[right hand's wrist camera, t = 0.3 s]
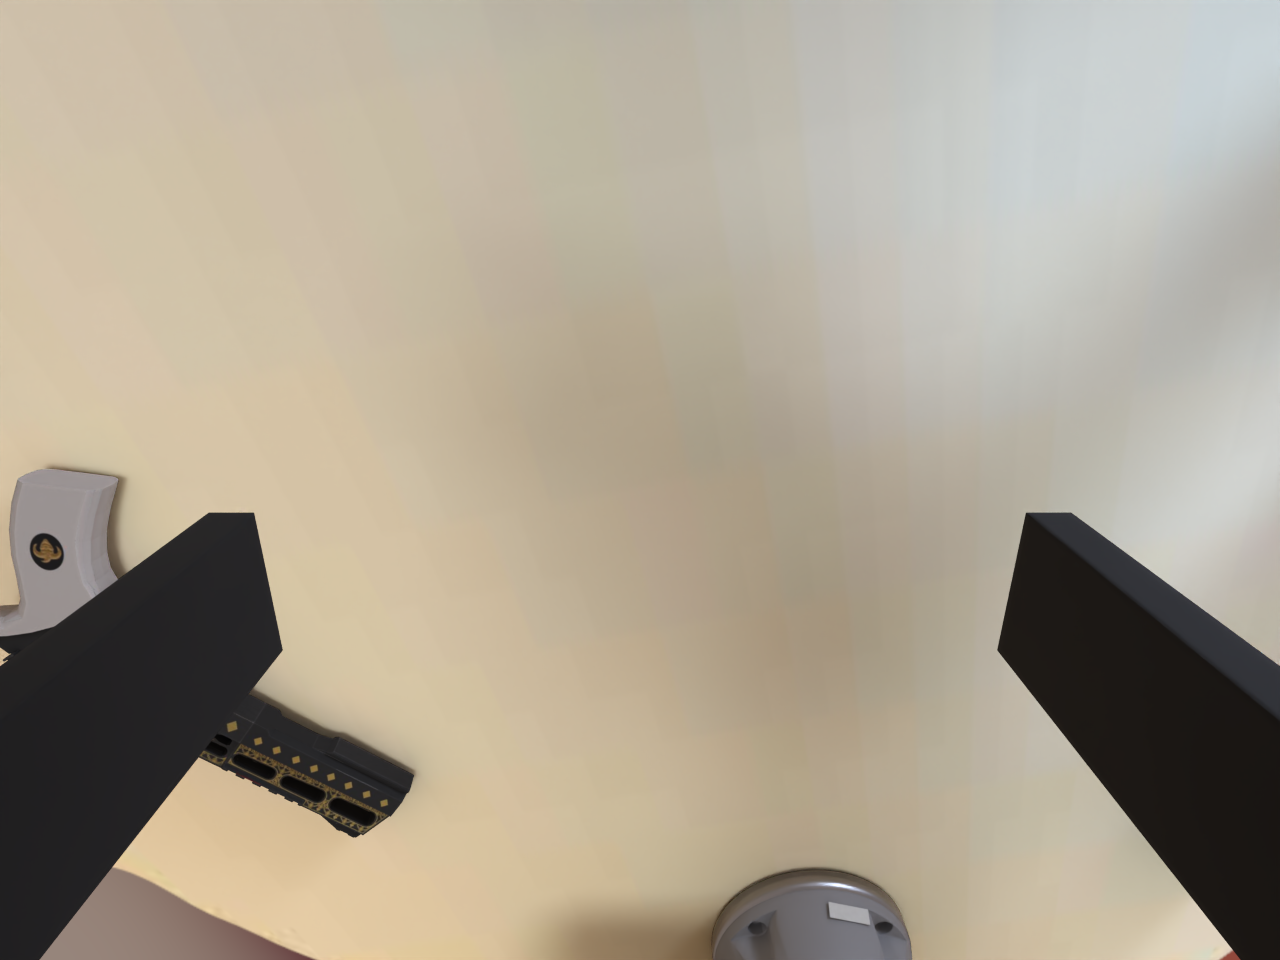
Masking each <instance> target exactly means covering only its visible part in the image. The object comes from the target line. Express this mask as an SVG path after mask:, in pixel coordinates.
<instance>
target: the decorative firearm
mask: <svg viewBox="0 0 1280 960" xmlns="http://www.w3.org/2000/svg"><path fill="white" fill-rule="evenodd" d="M117 484H118V479H117V478H116V477H112V476H105V475H97V474H89V473H81V472H73V471H65V470H57V469H41V470H36V471H33V472H30V473H28V474H25V475H24V476H22V477H20V478H18V480H17V484H16V488H15V491H14V495H13V499H12V503H11V514H10V526H9V534H10V546H11V556H12V560H13V564H14V569H15V573H16V577H17V582H18V588H19V593H20V598H21V599H20V603H19V605H3V606H0V648H2V649H3V650H5V651H6V652H7V653H9V654H10V655H9V656H7V657H6V658H5V659H3V661H6V660H9V659H11V658H12V657H13V656H15V655H16V654H18V653H19V652H20V651H22V650H23V649H24V648H26V647H27V646H28V645H30V644H31V643H32V642H34V641H35V640H37V639H38V638H39V637H41V636H42V635H43V634H45V633H46V632H47V631H49V630H50V629H51V628H53V627H54V626H56V625H57V624H58V623H60V622H61V621H62V620H64V619H65V618H66V617H68V616H69V615H71V614H72V613H73V612H75V611H76V610H77V609H79V608H80V607H81V606H83V605H84V604H85V603H87V602H88V601H90V600H91V599H92V598H94V597H95V596H96V595H98V594H99V593H100V592H102V591H103V590H105V589H106V588H107V587H109V586H110V585H111V584H113V583H114V582H115V581H117V580H118V579H117V577H116V575H115V574H114V572H113V570H112V569H111V567H110V562H109V557H108V553H107V527H108V521H109V515H110V509H111V505H112V501H113V498H114V494H115V491H116V487H117ZM11 653H12V654H11ZM199 758H201V759H203V760H206V761H208V762H210V763H212V764H214V765H216V766H218V767H220V768H222V769H223V770H225V771H228V770H229V771H231V772H234V773H236V776H238V777H240V778H242V779H244V778H246V779H248V780H250V781H253V782H252V783H253V784H255V785H257V786H259V787H260V786H263V787H265V788H267V789H269V790H268V791H269V792H272V793H274V794H277V793H278V794H280V795H282V796H284V797H285V798H284V799H286V800H288V801H291V802H293V801H295V802H297V803H298V805H299V806H303V807H305V808H307V809H309V810H311V811H313V812H315V813H317V814H319V815H321V816H322V817H323V818H325V819H326V820H327V821H328V822H329V823H330V824H331V825H332V826H334V827H335V828H336V830H339V831H340V830H341V831H343V832H345V833H347V834H348V835H349V836H351V837H353V838H354V837H357V836H359V835H360V834H362V835H364V834H365V833H367V832H368V831H369V830H371V829H372V828H374V827H375V826H376V825H378V824H379V823H380V822H382V821H383V820H385V819H386V818H387V817H389V816H390V817H391V815H392V814H393V813H394V812H395V810H396V809H397V808H398V807H399V805H400V804H401V803H402V801H403V799H404V797H405V796H406V794H407V793H408V792H409V791H410V788H411V784H412V781H413V777H414V775H413V774H411V773H409V772H407V771H405V770H403V769H401V768H399V767H397V766H395V765H393V764H391V763H389V762H387V761H385V760H383V759H381V758H379V757H377V756H375V755H373V754H371V753H370V752H368V751H366V750H364V749H362V748H360V747H358V746H356V745H354V744H352V743H350V742H348V741H346V740H344V739H342V738H340V737H335V738H333V739H332V738H329V737H326V736H322V735H319V734H317V733H315V732H313V731H311V730H309V729H307V728H305V727H303V726H301V725H299V724H297V723H295V722H293V721H291V720H289V719H287V718H285V717H284V716H282V714H281V712H280V710H279V709H277V708H275V707H273V706H271V705H269V704H267V703H265V702H263V701H261V700H259V699H257V698H255V697H253V696H251V695H249V694H248V695H247V696H246V697H245V699H244V700H243V701H242V703H241V704H240V705H239V706H238V708H237V709H236V710H235V711H234V713H233V714H232V715H231V717H230V718H229V719H228V720H227V722H226V723H225V724H224V725H223V727H222V728H221V729H220V731H219V732H218V733H217V734H216V736H215V737H214V738H213V739H212V741H211V742H210V743H209V745H208V746H207V747H206V748H205V750H204V751H203V752H202V753H201V755H200V756H199ZM360 807H361V808H360ZM362 808H363V809H362ZM364 809H365V810H364ZM367 810H368V811H367ZM369 811H370V812H369Z"/></svg>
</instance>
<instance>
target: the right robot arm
mask: <svg viewBox="0 0 1280 960" xmlns="http://www.w3.org/2000/svg"><path fill="white" fill-rule="evenodd" d="M282 650H283V649H282V645H281V640H280V635H279V630H278V625H277V621H276V616H275V611H274V606H273V602H272V597H271V592H270V587H269V582H268V578H267V573H266V568H265V563H264V558H263V554H262V549H261V544H260V539H259V535H258V530H257V525H256V520H255V515H254V513H208V514H206V515H205V516H204V517H202V518H201V519H200V520H198V521H197V522H196V523H194V524H193V525H192V526H190V527H189V528H187V529H186V530H185V531H183V532H182V533H181V534H179V535H178V536H177V537H175V538H174V539H172V540H171V541H170V542H168V543H167V544H166V545H164V546H163V547H162V548H160V549H159V550H158V551H156V552H155V553H153V554H152V555H151V556H149V557H148V558H147V559H145V560H144V561H143V562H141V563H140V564H138V565H137V566H136V567H134V568H133V569H132V570H130V571H129V572H128V573H126V574H125V575H124V576H122V577H121V578H119V579H118V580H117V581H115V582H114V583H113V584H111V585H110V586H109V587H107V588H106V589H105V590H103V591H102V592H100V593H99V594H98V595H96V596H95V597H94V598H92V599H91V600H90V601H88V602H87V603H85V604H84V605H83V606H81V607H80V608H79V609H77V610H76V611H75V612H73V613H72V614H71V615H69V616H68V617H66V618H65V619H64V620H62V621H61V622H60V623H58V624H57V625H56V626H54V627H53V628H51V629H50V630H49V631H47V632H46V633H45V634H43V635H42V636H41V637H39V638H38V639H37V640H35V641H34V642H32V643H31V644H30V645H28V646H27V647H26V648H24V649H23V650H22V651H20V652H19V653H18V654H16V655H15V656H13V657H12V658H11V659H9V660H8V661H7V662H5V663H4V664H3V665H1V666H0V960H39V959H40V958H41V957H42V956H43V954H44V953H45V952H46V951H47V949H48V948H49V947H50V946H51V944H52V943H53V942H54V940H55V939H56V938H57V937H58V935H59V934H60V933H61V932H62V930H63V929H64V928H65V926H66V925H67V924H68V923H69V921H70V920H71V919H72V918H73V916H74V915H75V914H76V913H77V911H78V910H79V909H80V907H81V906H82V905H83V903H84V902H85V901H86V900H87V899H88V897H89V896H90V895H91V893H92V892H93V891H94V890H95V888H96V887H97V886H98V885H99V883H100V882H101V881H102V879H103V878H104V877H105V876H106V874H107V873H108V872H109V871H110V869H111V868H112V867H113V865H114V864H115V863H116V862H117V860H118V859H119V858H120V857H121V855H122V854H123V853H124V851H125V850H126V849H127V848H128V846H129V845H130V844H131V843H132V841H133V840H134V839H135V837H136V836H137V835H138V834H139V832H140V831H141V830H142V829H143V827H144V826H145V825H146V823H147V822H148V821H149V820H150V818H151V817H152V816H153V815H154V813H155V812H156V811H157V809H158V808H159V807H160V806H161V804H162V803H163V802H164V801H165V799H166V798H167V797H168V795H169V794H170V793H171V792H172V790H173V789H174V788H175V787H176V785H177V784H178V783H179V781H180V780H181V779H182V778H183V776H184V775H185V774H186V773H187V771H188V770H189V769H190V767H191V766H192V765H193V764H194V762H195V761H196V760H197V759H198V757H199V756H200V755H201V753H202V752H203V751H204V750H205V748H206V747H207V746H208V745H209V743H210V742H211V741H212V739H213V738H214V737H215V736H216V734H217V733H218V732H219V731H220V729H221V728H222V727H223V725H224V724H225V723H226V722H227V720H228V719H229V718H230V717H231V715H232V714H233V713H234V711H235V710H236V709H237V708H238V706H239V705H240V704H241V703H242V701H243V700H244V699H245V697H246V696H247V695H248V694H249V692H250V691H251V690H252V689H253V687H254V686H255V685H256V684H257V682H258V681H259V680H260V678H261V677H262V676H263V675H264V673H265V672H266V671H267V670H268V668H269V667H270V666H271V664H272V663H273V662H274V661H275V659H276V658H277V657H278V656H279V654H280V653H281V652H282ZM997 650H998V652H999V653H1000V654H1001V656H1002V657H1003V658H1004V659H1005V661H1006V662H1007V663H1008V664H1009V666H1010V667H1011V668H1012V670H1013V671H1014V672H1015V673H1016V675H1017V676H1018V677H1019V678H1020V680H1021V681H1022V682H1023V684H1024V685H1025V686H1026V687H1027V689H1028V690H1029V691H1030V692H1031V694H1032V695H1033V696H1034V697H1035V699H1036V700H1037V701H1038V703H1039V704H1040V705H1041V706H1042V708H1043V709H1044V710H1045V711H1046V713H1047V714H1048V715H1049V717H1050V718H1051V719H1052V720H1053V722H1054V723H1055V724H1056V725H1057V727H1058V728H1059V729H1060V731H1061V732H1062V733H1063V734H1064V736H1065V737H1066V738H1067V739H1068V741H1069V742H1070V743H1071V745H1072V746H1073V747H1074V748H1075V750H1076V751H1077V752H1078V753H1079V755H1080V756H1081V757H1082V759H1083V760H1084V761H1085V762H1086V764H1087V765H1088V766H1089V767H1090V769H1091V770H1092V771H1093V773H1094V774H1095V775H1096V776H1097V778H1098V779H1099V780H1100V781H1101V783H1102V784H1103V785H1104V787H1105V788H1106V789H1107V790H1108V792H1109V793H1110V794H1111V795H1112V797H1113V798H1114V799H1115V801H1116V802H1117V803H1118V804H1119V806H1120V807H1121V808H1122V809H1123V811H1124V812H1125V813H1126V815H1127V816H1128V817H1129V818H1130V820H1131V821H1132V822H1133V823H1134V825H1135V826H1136V827H1137V829H1138V830H1139V831H1140V832H1141V834H1142V835H1143V836H1144V837H1145V839H1146V840H1147V841H1148V843H1149V844H1150V845H1151V846H1152V848H1153V849H1154V850H1155V851H1156V853H1157V854H1158V855H1159V857H1160V858H1161V859H1162V860H1163V862H1164V863H1165V864H1166V865H1167V867H1168V868H1169V869H1170V871H1171V872H1172V873H1173V874H1174V876H1175V877H1176V878H1177V879H1178V881H1179V882H1180V883H1181V885H1182V886H1183V887H1184V888H1185V890H1186V891H1187V892H1188V893H1189V895H1190V896H1191V897H1192V899H1193V900H1194V901H1195V902H1196V904H1197V905H1198V906H1199V907H1200V909H1201V910H1202V911H1203V913H1204V914H1205V915H1206V916H1207V918H1208V919H1209V920H1210V921H1211V923H1212V924H1213V925H1214V927H1215V928H1216V929H1217V930H1218V932H1219V933H1220V934H1221V935H1222V937H1223V938H1224V939H1225V940H1226V942H1227V943H1228V944H1229V946H1230V947H1231V948H1232V949H1233V951H1234V952H1235V953H1236V954H1237V956H1238V957H1239V958H1240V960H1280V666H1279V665H1277V664H1276V663H1275V662H1273V661H1272V660H1271V659H1269V658H1268V657H1267V656H1265V655H1264V654H1262V653H1261V652H1260V651H1258V650H1257V649H1256V648H1254V647H1253V646H1252V645H1250V644H1249V643H1248V642H1246V641H1245V640H1243V639H1242V638H1241V637H1239V636H1238V635H1237V634H1235V633H1234V632H1233V631H1231V630H1230V629H1229V628H1227V627H1226V626H1224V625H1223V624H1222V623H1220V622H1219V621H1218V620H1216V619H1215V618H1214V617H1212V616H1211V615H1209V614H1208V613H1207V612H1205V611H1204V610H1203V609H1201V608H1200V607H1199V606H1197V605H1196V604H1195V603H1193V602H1192V601H1190V600H1189V599H1188V598H1186V597H1185V596H1184V595H1182V594H1181V593H1180V592H1178V591H1177V590H1175V589H1174V588H1173V587H1171V586H1170V585H1169V584H1167V583H1166V582H1165V581H1163V580H1162V579H1161V578H1159V577H1158V576H1156V575H1155V574H1154V573H1152V572H1151V571H1150V570H1148V569H1147V568H1146V567H1144V566H1143V565H1141V564H1140V563H1139V562H1137V561H1136V560H1135V559H1133V558H1132V557H1131V556H1129V555H1128V554H1127V553H1125V552H1124V551H1122V550H1121V549H1120V548H1118V547H1117V546H1116V545H1114V544H1113V543H1112V542H1110V541H1109V540H1108V539H1106V538H1105V537H1103V536H1102V535H1101V534H1099V533H1098V532H1097V531H1095V530H1094V529H1093V528H1091V527H1090V526H1088V525H1087V524H1086V523H1084V522H1083V521H1082V520H1080V519H1079V518H1078V517H1076V516H1075V515H1074V514H1072V513H1026V515H1025V520H1024V525H1023V530H1022V535H1021V539H1020V544H1019V549H1018V554H1017V558H1016V563H1015V568H1014V573H1013V578H1012V582H1011V587H1010V592H1009V597H1008V602H1007V606H1006V611H1005V616H1004V621H1003V625H1002V630H1001V635H1000V640H999V645H998V649H997ZM712 955H713V960H912V951H911V943H910V938H909V935H908V932H907V929H906V927H905V924H904V921H903V918H902V915H901V913H900V911H899V909H898V907H897V906H896V904H895V903H894V901H893V900H892V899H891V898H890V897H889V896H888V895H887V894H886V893H885V892H884V891H883V890H881V889H880V888H879V887H877V886H875V885H874V884H872V883H870V882H868V881H866V880H864V879H862V878H859V877H856V876H853V875H850V874H846V873H841V872H836V871H827V870H805V871H796V872H790V873H785V874H781V875H777V876H774V877H771V878H768V879H766V880H763V881H761V882H759V883H757V884H755V885H753V886H751V887H749V888H748V889H746V890H745V891H743V892H742V893H740V894H739V895H738V896H736V897H735V898H734V899H733V900H732V901H731V902H730V903H729V904H728V905H727V906H726V907H725V909H724V910H723V911H722V913H721V914H720V916H719V918H718V919H717V921H716V924H715V926H714V930H713V934H712Z"/></svg>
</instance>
